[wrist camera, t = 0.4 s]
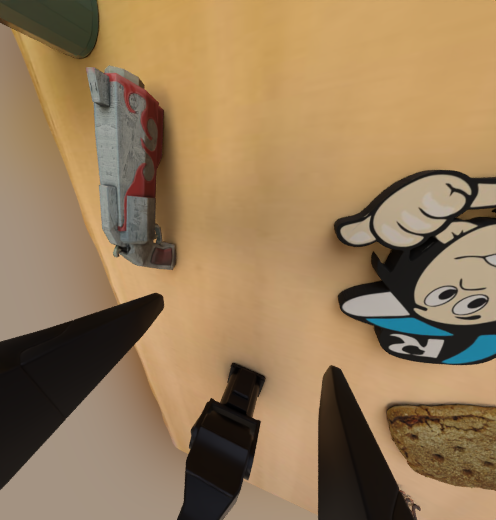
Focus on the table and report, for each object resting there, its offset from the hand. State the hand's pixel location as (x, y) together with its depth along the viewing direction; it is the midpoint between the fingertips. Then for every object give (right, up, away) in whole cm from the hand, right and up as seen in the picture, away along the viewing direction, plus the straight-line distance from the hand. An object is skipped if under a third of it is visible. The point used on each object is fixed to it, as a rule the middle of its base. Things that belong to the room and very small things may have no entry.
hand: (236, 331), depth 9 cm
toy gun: (-10, +12, +15) cm, 22 cm away
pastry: (+29, -21, +16) cm, 39 cm away
